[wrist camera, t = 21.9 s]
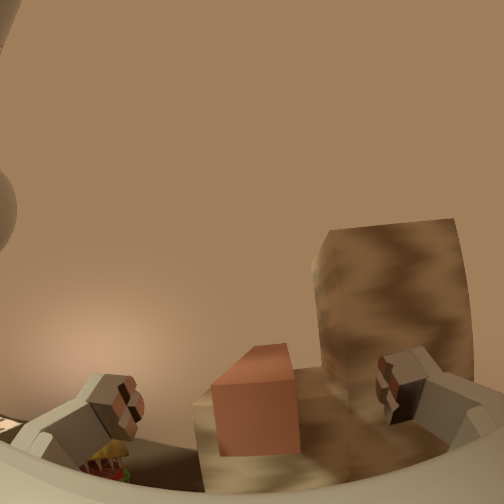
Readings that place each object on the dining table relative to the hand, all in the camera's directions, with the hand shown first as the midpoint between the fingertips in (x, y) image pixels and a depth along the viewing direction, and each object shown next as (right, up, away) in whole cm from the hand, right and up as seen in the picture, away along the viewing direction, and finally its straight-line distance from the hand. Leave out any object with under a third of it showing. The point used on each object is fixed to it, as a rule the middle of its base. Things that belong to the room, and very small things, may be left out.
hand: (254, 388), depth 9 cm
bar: (+1, -5, +9) cm, 11 cm away
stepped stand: (+8, -21, +10) cm, 24 cm away
